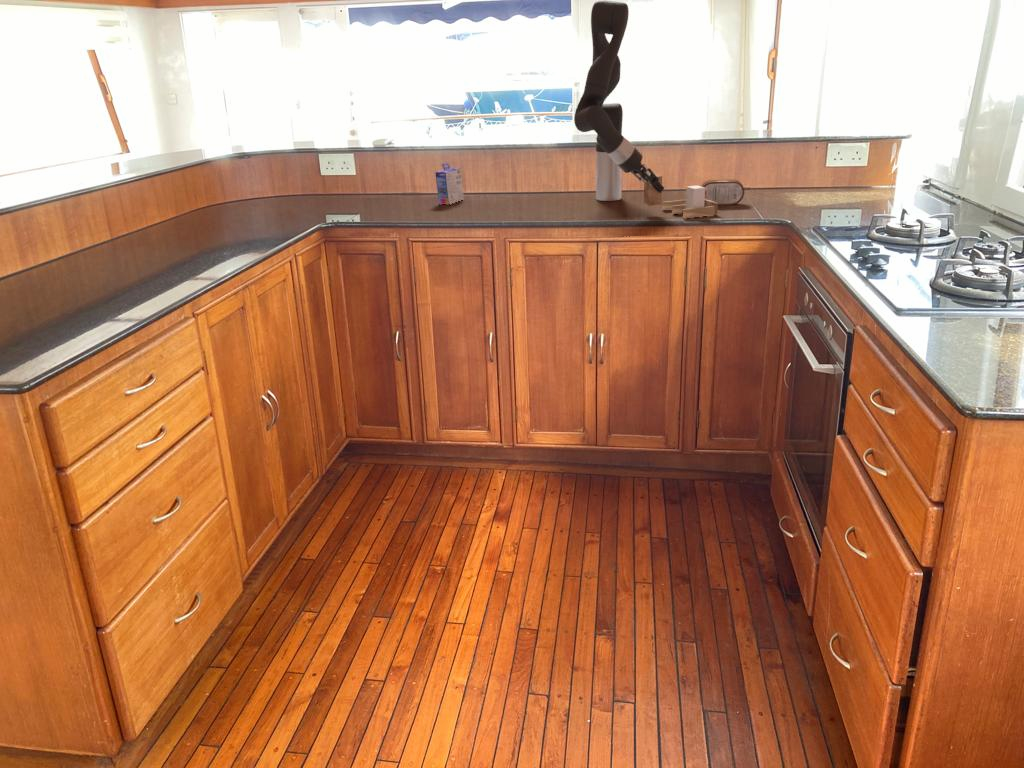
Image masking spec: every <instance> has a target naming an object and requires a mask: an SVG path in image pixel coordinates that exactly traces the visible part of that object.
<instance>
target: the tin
mask: <svg viewBox="0 0 1024 768" xmlns="http://www.w3.org/2000/svg"><path fill="white" fill-rule="evenodd" d="M701 187H705V199H707V200H710V201H713V202H717V203H718V206H735V205H737V204H739V203H740V202H741V201H742V200H743V198H744V196H745V188H744V185H743V184H742V183H741V181H739V180H737V179H709V180H707V181H705V182H703V183H702V184H701Z"/></svg>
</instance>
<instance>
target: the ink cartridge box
mask: <svg viewBox="0 0 1024 768" xmlns="http://www.w3.org/2000/svg"><path fill="white" fill-rule="evenodd" d="M441 166H442V168H443V169H442V170H439V171H438V170H437V171H435V180H436V181H435V182H436V190H437V198H438V199H437V200H438V205H442V204H446V205H445V206H450V205H453V204H456V203H455V202H457V203H459V202H458V201H460V202H462V201H461V200H463V201H464V200H465V198H464V197H465V196H464V189H463V177H462V167H460V168H458V167H450V165H449V163H448V162H445V163H441ZM452 203H453V204H452ZM449 204H450V205H449Z"/></svg>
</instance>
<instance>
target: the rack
mask: <svg viewBox="0 0 1024 768" xmlns="http://www.w3.org/2000/svg"><path fill="white" fill-rule="evenodd" d="M718 206H719V205H718V203H717V202H713V201H710V200H707V199H705V201H704V207H700V208H691V209H686V199H677V200H670V201H661V211H662V210H670V209H672V210H671V211H672V212H671V215H672V214H679V215H682V220H687V218H690V219H695V218H694V217H699V218H704V217H703V216H707V217H714V215H716V216H718ZM682 213H683V214H682Z"/></svg>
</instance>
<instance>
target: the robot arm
mask: <svg viewBox="0 0 1024 768" xmlns="http://www.w3.org/2000/svg"><path fill="white" fill-rule="evenodd" d="M628 21H629V5H628V4H627V3H625V2H620V1H613V0H596V1H595V2H594V3H593V5H592V8H591V13H590V28H591V30H590V31H591V39H592V41H591V42H592V64H591V66H590V67H589V69H588V72H587V75H586V79H585V85H584V88H583V89H584V91H583V93H582V95H581V98H580V100H579V102H578V104H577V106H576V108H575V112H574V116H573V117H574V120H573V121H574V126H575V128H576V129H577V130H578V131H580V132H582V133H587V132H591V131H594V132H595V133H596V134H597V136H596V139H595V140H596V142H597V143H595V181H596V182H595V186H596V187H595V193H596V194H595V198H596V200H597V201H601V202H612V201H613V202H614V201H620V200H621V199H622V182H623V180H622V177H623V176H622V175H623V174H622V172H624V173H627V174H628V173H631V174H632V175H633V176H634V177H635V178H637V180H638V181H640V182H642V183H643V184H644V181H645V182H648V183H649V184H651V186H653V187H654V188H655V189H656V190H657V191H658V192H659V193H661V192H662V193H663V191H664V189H665V187H664V186H663V184H662V185H661V184H660V183H659V182H658V180H659V179H658V178H657V177H656V175H655V174H656V173H654V172H653V171H652V169H651V168H649V167H648V166H647V165H645V163H643V164H642V160H643V154H642V153H641V152H640V151H639V150H638V149H637V148H636V147H635V146H634V144H632V143H631V142H630V140H628V139H627V138H625V136H623V117H624V116H623V115H624V112H623V106H622V105H621V104H620V103H618V102H617V103H616V102H612V103H604V102H606V99H607V98H608V97H609V96H610V95H611V93H612V92H613V91H614V90H615V89H616V88H617V86H618V84H619V83H620V79H621V60H620V57H619V55H618V54H619V51H620V48H621V45H622V43H623V42H622V41H623V39H624V36H625V32H626V29H627V26H628ZM606 35H612V37H611V40H610V42H609V40H608V39H607V38H608V37H606ZM645 177H646V179H645ZM652 179H654V180H653V181H652Z"/></svg>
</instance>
